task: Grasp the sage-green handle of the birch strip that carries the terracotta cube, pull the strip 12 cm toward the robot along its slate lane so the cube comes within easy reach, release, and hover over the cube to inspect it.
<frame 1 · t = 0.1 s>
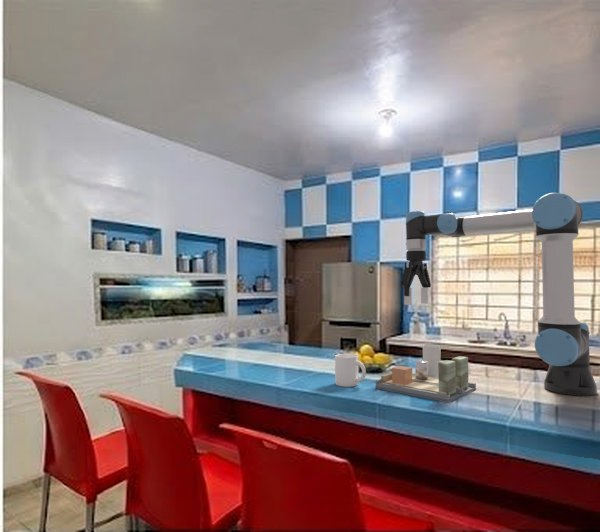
hand: (416, 304, 169), 28 cm above the countertop, fingers open, 13 cm apart
terracotta cube: (402, 382, 147), point 2 cm above the countertop, touching strip A
lane board: (425, 388, 147), on the countertop
mug 2: (351, 385, 152), on the countertop
strip A: (417, 373, 144), point 6 cm above the countertop, slide at 0.0 cm, touching lane board, terracotta cube
grey bookend: (433, 376, 167), on the countertop
tin can: (421, 378, 154), point 2 cm above the countertop, touching strip B
strip B: (431, 368, 151), point 6 cm above the countertop, slide at 0.0 cm, touching tin can
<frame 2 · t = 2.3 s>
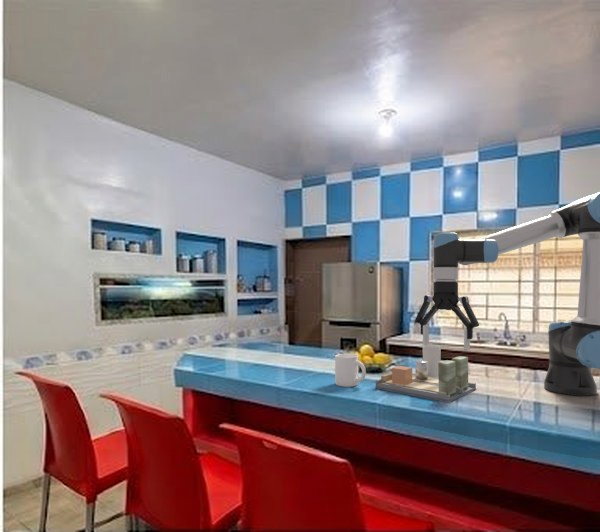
hand: (445, 347, 137), 16 cm above the countertop, fingers open, 13 cm apart
nothing on the countertop moved.
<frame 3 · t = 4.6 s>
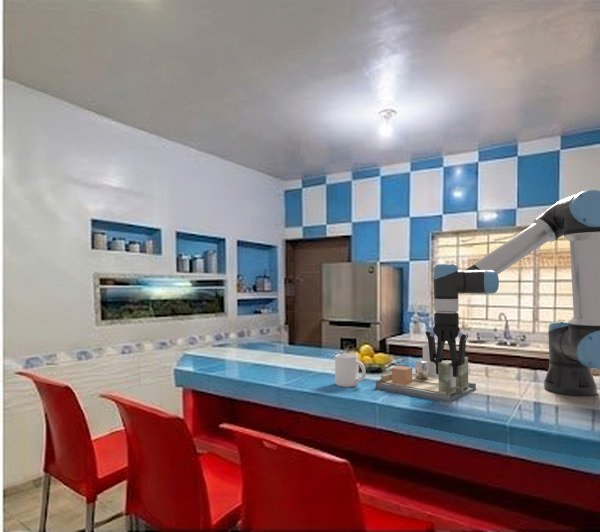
hand: (447, 385, 137), 4 cm above the countertop, fingers closed on strip A, 3 cm apart
strip A: (417, 373, 144), point 6 cm above the countertop, slide at 0.0 cm, touching gripper, terracotta cube
everything else where it was.
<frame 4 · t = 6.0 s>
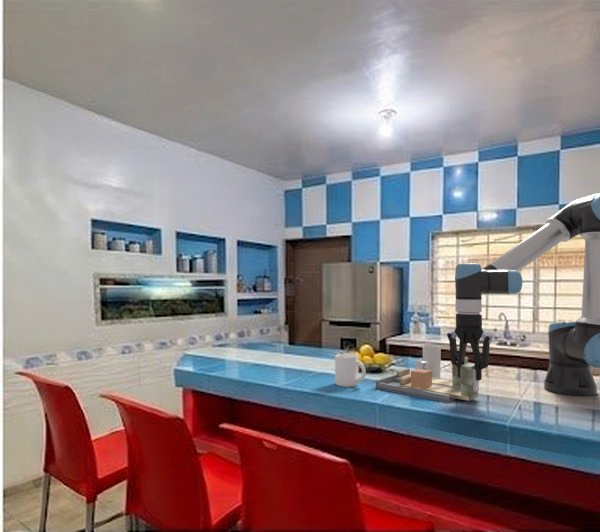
hand: (469, 389, 132), 4 cm above the countertop, fingers closed on strip A, 3 cm apart
terracotta cube: (421, 385, 143), point 2 cm above the countertop, touching strip A
strip A: (437, 376, 139), point 6 cm above the countertop, slide at 7.2 cm, touching gripper, terracotta cube
everything else where it was.
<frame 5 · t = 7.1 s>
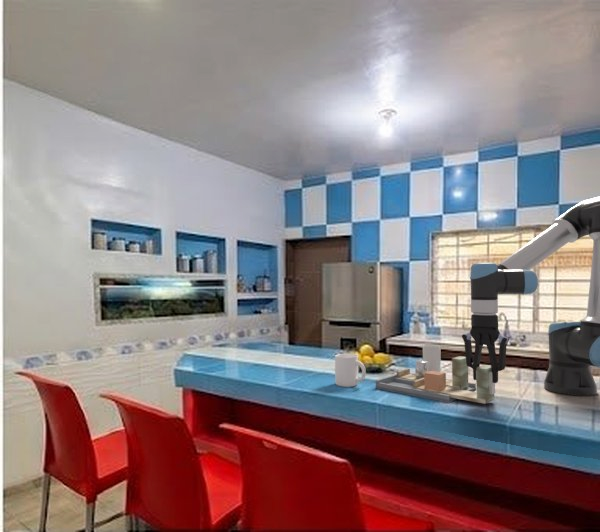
hand: (485, 392, 129), 4 cm above the countertop, fingers closed on strip A, 3 cm apart
terracotta cube: (435, 388, 139), point 2 cm above the countertop, touching strip A
strip A: (452, 378, 136), point 6 cm above the countertop, slide at 12.0 cm, touching gripper, terracotta cube
everything else where it was.
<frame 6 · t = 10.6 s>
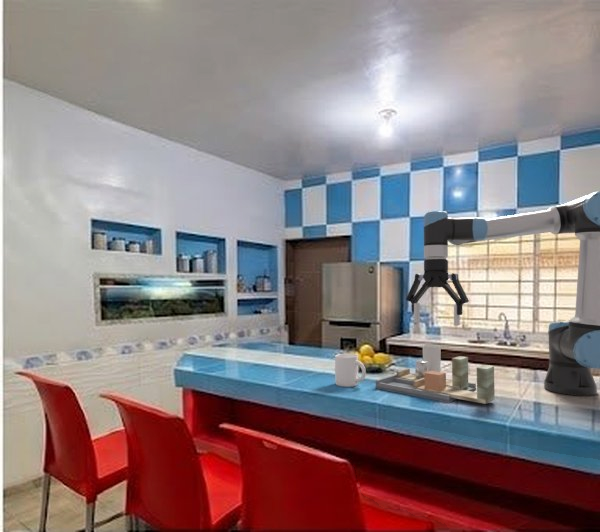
hand: (436, 324, 140), 23 cm above the countertop, fingers open, 13 cm apart
strip A: (452, 378, 136), point 6 cm above the countertop, slide at 12.0 cm, touching terracotta cube
everything else where it was.
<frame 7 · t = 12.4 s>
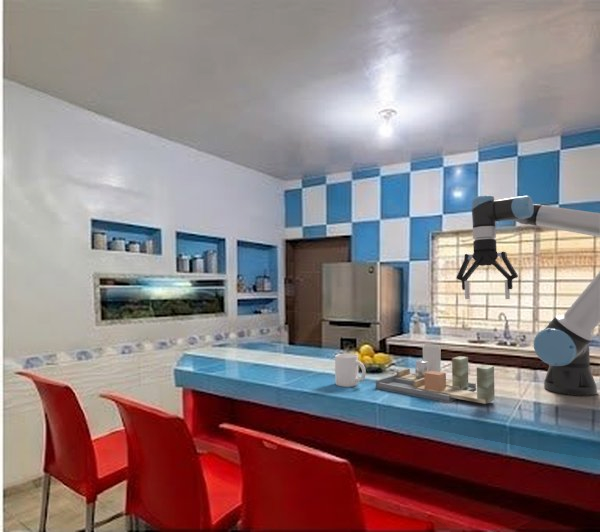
hand: (487, 299, 152), 31 cm above the countertop, fingers open, 13 cm apart
nothing on the countertop moved.
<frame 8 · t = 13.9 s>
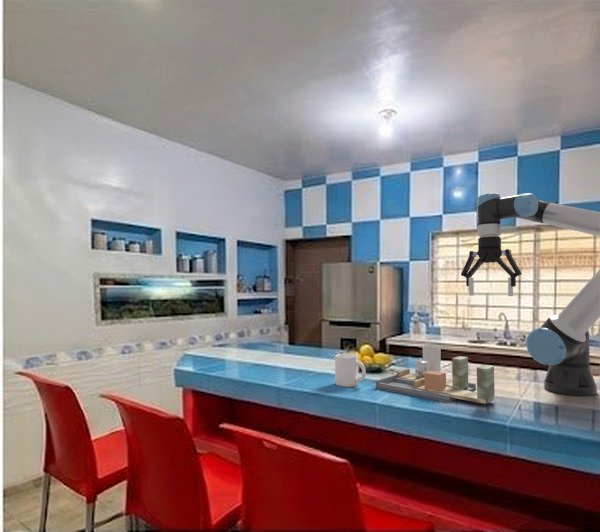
hand: (490, 295, 154), 32 cm above the countertop, fingers open, 13 cm apart
nothing on the countertop moved.
at the end: strip A slide at 12.0 cm; terracotta cube inside the target area (0.0 cm from its centre), point 2.1 cm above the countertop; terracotta cube tilted 0° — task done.
